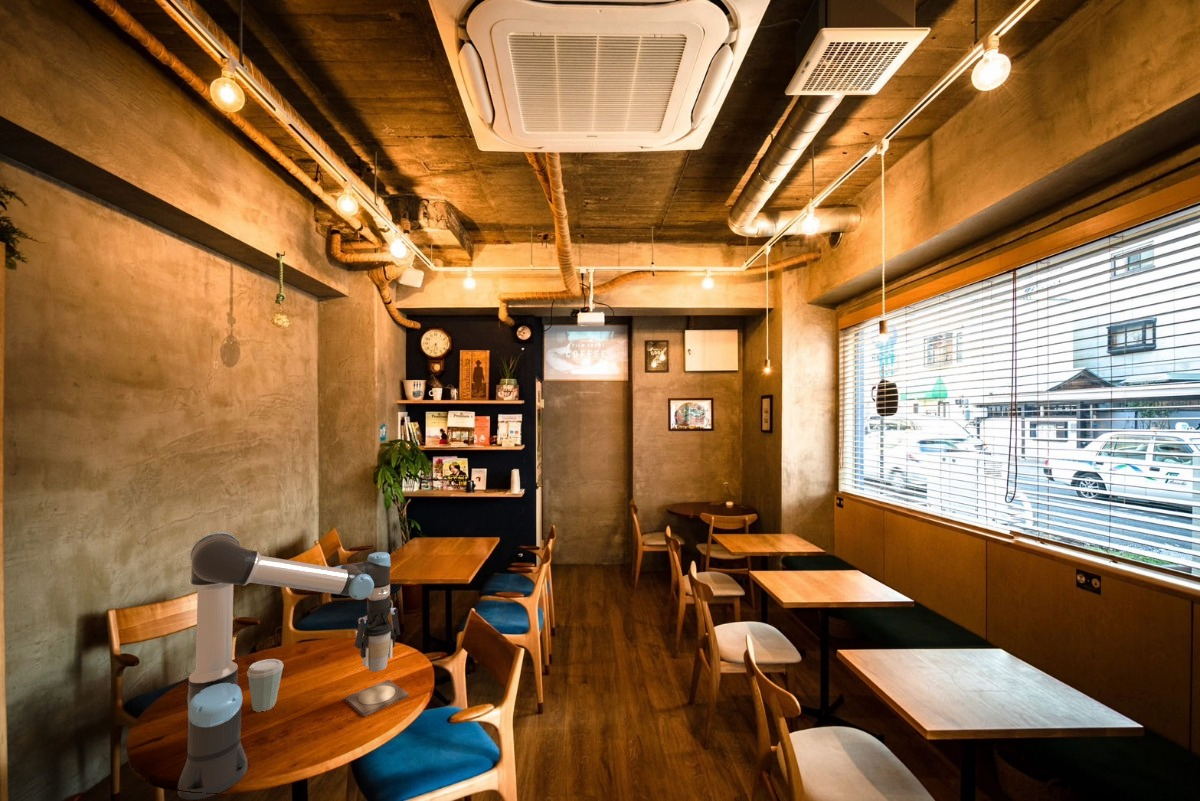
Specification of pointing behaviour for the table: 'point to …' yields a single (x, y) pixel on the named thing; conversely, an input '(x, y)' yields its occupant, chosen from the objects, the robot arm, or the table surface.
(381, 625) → the coffee cup
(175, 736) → the table surface
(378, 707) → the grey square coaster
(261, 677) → the disposable coffee cup
